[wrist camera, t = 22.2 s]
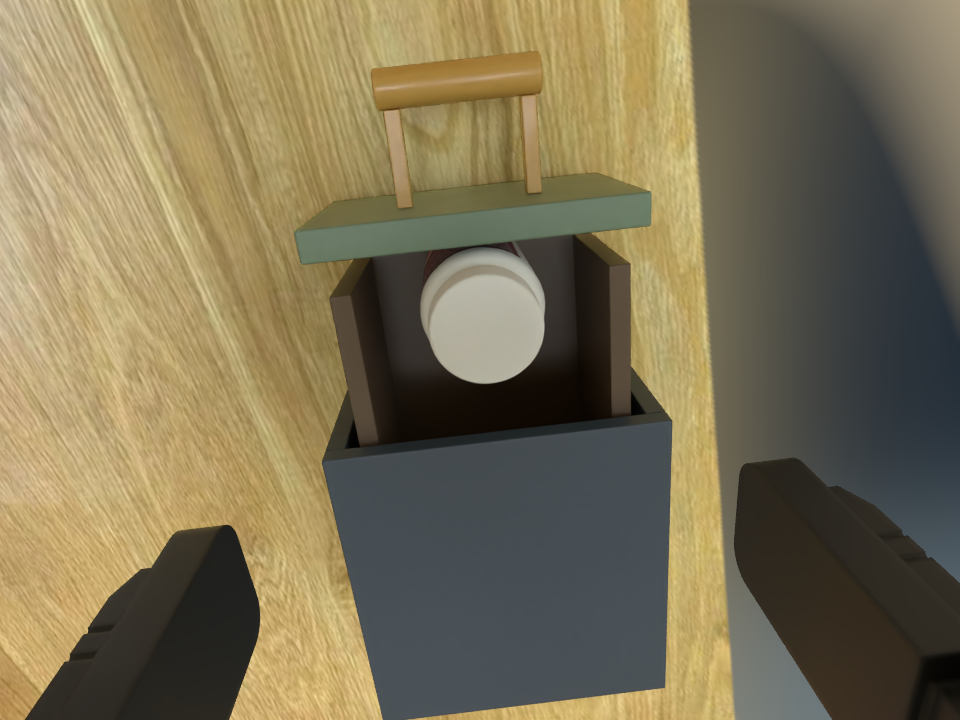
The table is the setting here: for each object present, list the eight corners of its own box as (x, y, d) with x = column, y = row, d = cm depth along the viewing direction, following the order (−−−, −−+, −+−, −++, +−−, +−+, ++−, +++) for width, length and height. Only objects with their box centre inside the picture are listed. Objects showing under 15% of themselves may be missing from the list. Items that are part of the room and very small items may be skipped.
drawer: (310, 85, 26) (257, 72, 18) (595, 54, 26) (654, 30, 18) (380, 452, 33) (362, 547, 25) (603, 425, 33) (648, 513, 25)
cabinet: (355, 365, 31) (321, 461, 23) (608, 335, 32) (673, 420, 23) (397, 578, 37) (383, 723, 28) (612, 552, 37) (665, 688, 28)
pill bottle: (403, 276, 28) (387, 337, 20) (472, 198, 27) (483, 232, 19) (477, 339, 29) (489, 419, 21) (545, 269, 28) (584, 326, 20)
